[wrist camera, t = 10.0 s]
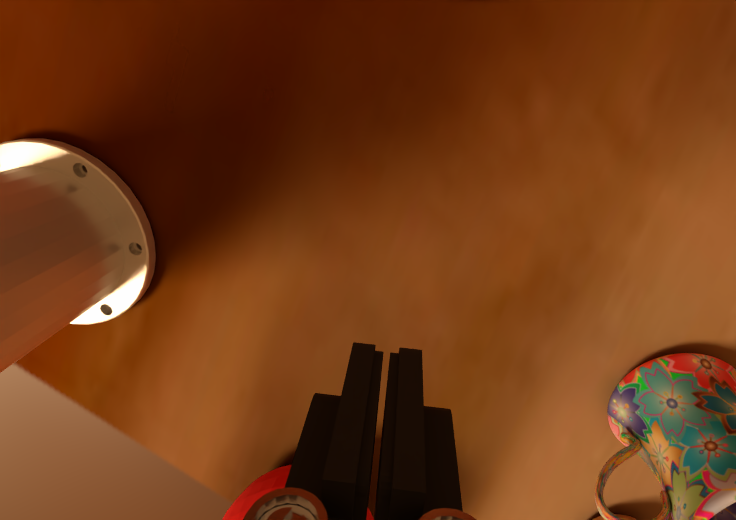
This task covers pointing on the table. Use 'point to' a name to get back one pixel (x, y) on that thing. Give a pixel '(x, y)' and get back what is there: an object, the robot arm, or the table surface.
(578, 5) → the table surface
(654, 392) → the mug
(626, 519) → the plastic bottle
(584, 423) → the table surface
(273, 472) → the tomato
